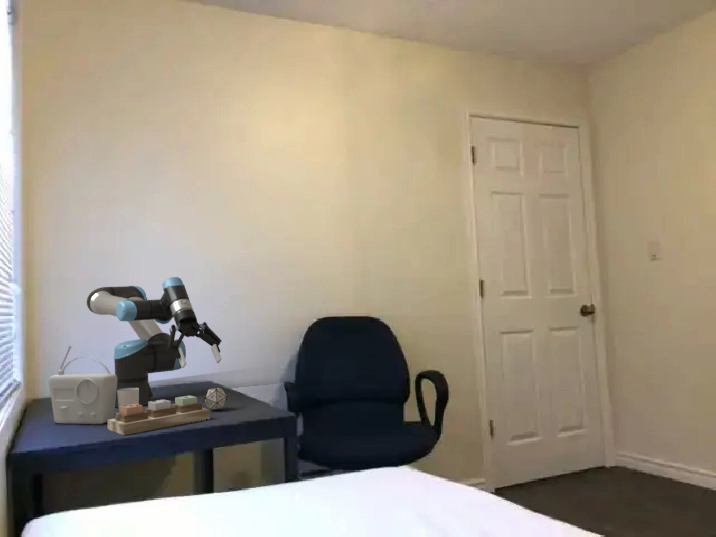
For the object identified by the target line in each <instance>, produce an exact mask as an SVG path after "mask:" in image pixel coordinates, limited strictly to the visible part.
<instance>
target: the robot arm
mask: <svg viewBox="0 0 716 537" xmlns="http://www.w3.org/2000/svg"><path fill="white" fill-rule="evenodd" d="M162 290H163V294H162V295H161V297H160V298H159V299H158V298H157V299H148V297H147V294H146V291H145V289H143V288H142V287H141V286H138V285H137V286H136V285H135V286H134V285H126V286H123V285H122V286H102V287H98V288H96V289H94V290H93V291H91V292H90V293H89V295H88V297H86V298H87V299H86V306H87V309H88V310H89V311H90V312H91V313H93V314H95V315H100V316H102V315H104V316H106V315H110V316H114V317H116V318H117V319H118V320H119V321H120V322H128V324H129V325H130V327H131V328H132V329H133V331H134V332H135V334H136V335H137V337H138V338H139V339H133V340H132V339H131V340H128V341H127V340H126V341H123V342H120V343H118V344H116V345H115V346H114V354H113V360H114V374H116V376H117V390H119V389H125V388H139V405H143V406H147V405H148V402H151V401H155V397H154V393H153V391H152V388H151V386H150V382H149V374H156V373H163V372H164V373H165V372H174V371H178V370H181V369H183V368H184V369H185V367H186V365H187V361H186V357H187V356H186V355H187V353H186V352H187V349H186V345H185V343H184V341H183V339H184V338H185V337H186V338H190V337H191V338H192V337H196V338H198V339H201V340H202V341H203V342H205V343H206V344H208V345H209V346H210V347H211V348H210V350H211V352H212V354H213V357H214V359H215V362H216V364H220V362H221V360H222V357H221V354H220V353H221V350H220V347H219V346H220V345H221V343H222V339H221V338H220V337H219V336H218V335H217V334H216V333H215V332H214V331H213V329H211V327H210V326H208V323H207V322H206V321H203V323H199V322H198V319H197V315H196V313H195V311H194V308H193V306H192V303H191V301H190V297H189V295H188V293H187V288H186V286H185V284H184V282H183V280H182V278H180V277H178V276H172V277H168V278H166V279H165V280H163V282H162ZM172 319H174V323H175V324H172V325H171V326H170V328H169V333H167V332H164V331H162V329H161V327H159V325H158V324H160V325H166V324H169V323H170V322H171V320H172ZM157 323H158V324H157ZM177 332H179V333H180V335H179V338H176V333H177ZM175 338H176V339H175ZM117 390H116V400H115V408H118V395H117Z"/></svg>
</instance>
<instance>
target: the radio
mask: <svg viewBox="0 0 716 537" xmlns="http://www.w3.org/2000/svg"><path fill="white" fill-rule="evenodd" d="M72 347H73V345H71V344H70V345H68V348H67V351H66V353H65V355H64V358H63V360H62V362H61V365H60V366H59V370H58V371H57V374H54V375H51V376H50V377H49V379H48V386H49V387H48V388H49V393H50V399H51V400H50V401H51V407H52V412H53V421H54V422H55V423H57V424H64V425H65V424H66V425H67V424H69V425H70V424H71V425H76V424H77V425H103V424H105V423H106V424H107V420H108V419H114V418H115V409H116V407H115V400H116V390H117V376H116V374H115V372H111V371H110V370H109V369H108V367H107V365H105V364H104V363H103V362H102V361H100V360H98V359H96V358H95V357H89V356H82V357H80V359H81V358H86V359H92V360H94V361H95V362H98V363H99V364H100V365H101V366H102V367H104V369H105V371H106V373H105V372H87V373H85V372H75V373H73V372H70V373H67V372H65V370H66V368H67V367H68V366H69V365H70V364H71V363H72V362H74V361H76V360H77V359H79V357H76V358H73V359H72V360H70V361H68V363H66V365H65V366H64V364H65V362H66V360H67V358H68V355H69V353H70V351H71V349H72Z"/></svg>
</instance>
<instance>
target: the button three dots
mask: <svg viewBox="0 0 716 537" xmlns="http://www.w3.org/2000/svg"><path fill="white" fill-rule="evenodd" d="M143 411H144V405H139V404H131V405H125V406H120V414H124V415H130V414H136V413H143Z"/></svg>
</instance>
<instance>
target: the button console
mask: <svg viewBox="0 0 716 537" xmlns="http://www.w3.org/2000/svg"><path fill="white" fill-rule="evenodd" d="M206 419H208V420H210V419H211V410H209V408H204V407H203V402H199V401H197V404H191V405H185V406H180V405H176V404H175V402H174V403H171V408H167V409H161V410H151V409H148V407H143V413H136V414H130V415H124V414H120V412H119V411H118V412H114V418H113V419H108V420H107V422H106V424H107V430H109V431H111V432H114V433H117V434H119V435H122V436H127V435H132V434H136V433H143V432H149V431H153V430H158V429H164V428H170V427H175V425H176V426H179V425H180V424H181V425H186V424H190V423H191V422H192V423H197V422H202V421H206ZM201 420H202V421H201ZM196 421H197V422H196ZM185 423H186V424H185ZM181 425H180V426H181Z"/></svg>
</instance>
